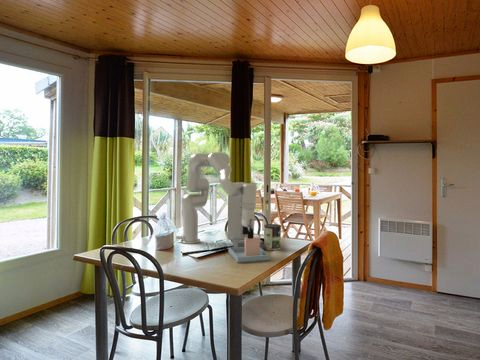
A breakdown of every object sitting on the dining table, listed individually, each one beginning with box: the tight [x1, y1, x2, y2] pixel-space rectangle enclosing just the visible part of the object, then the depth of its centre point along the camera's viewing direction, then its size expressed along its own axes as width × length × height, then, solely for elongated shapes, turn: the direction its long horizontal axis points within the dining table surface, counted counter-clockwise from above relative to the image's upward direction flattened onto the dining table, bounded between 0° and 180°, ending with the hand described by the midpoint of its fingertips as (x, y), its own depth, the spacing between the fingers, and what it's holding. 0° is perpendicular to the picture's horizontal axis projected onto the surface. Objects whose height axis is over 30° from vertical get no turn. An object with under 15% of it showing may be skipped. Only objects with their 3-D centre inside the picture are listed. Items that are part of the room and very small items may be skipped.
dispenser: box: [232, 238, 264, 250], centre depth 205 cm, size 16×12×6 cm
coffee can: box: [263, 223, 282, 251], centre depth 206 cm, size 10×10×14 cm
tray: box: [228, 247, 271, 264], centre depth 187 cm, size 18×20×3 cm
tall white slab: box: [227, 195, 248, 241], centre depth 228 cm, size 14×6×30 cm, turn 73°
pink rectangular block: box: [244, 236, 261, 256], centre depth 187 cm, size 8×3×10 cm, turn 104°
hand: (247, 236), depth 187 cm, fingers open, 9 cm apart
